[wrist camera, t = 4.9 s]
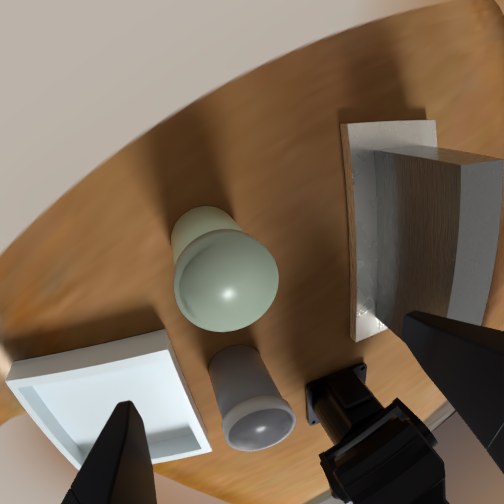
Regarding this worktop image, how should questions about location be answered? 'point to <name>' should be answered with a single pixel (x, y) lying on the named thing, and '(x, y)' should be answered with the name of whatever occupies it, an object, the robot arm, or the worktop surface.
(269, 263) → the cylinder
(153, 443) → the tray
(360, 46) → the worktop surface
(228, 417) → the grey cup
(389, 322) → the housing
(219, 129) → the worktop surface
